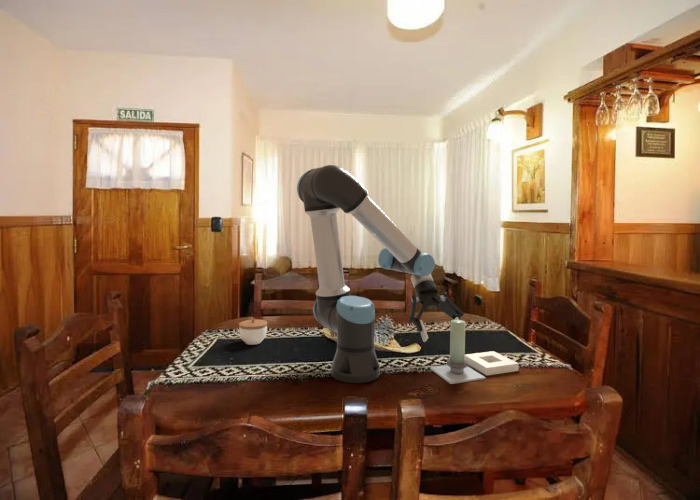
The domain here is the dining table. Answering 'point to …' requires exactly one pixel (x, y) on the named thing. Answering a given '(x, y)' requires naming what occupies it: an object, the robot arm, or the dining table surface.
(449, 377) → the mat
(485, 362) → the socket block
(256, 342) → the lidded jar
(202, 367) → the dining table surface
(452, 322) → the candle in holder
